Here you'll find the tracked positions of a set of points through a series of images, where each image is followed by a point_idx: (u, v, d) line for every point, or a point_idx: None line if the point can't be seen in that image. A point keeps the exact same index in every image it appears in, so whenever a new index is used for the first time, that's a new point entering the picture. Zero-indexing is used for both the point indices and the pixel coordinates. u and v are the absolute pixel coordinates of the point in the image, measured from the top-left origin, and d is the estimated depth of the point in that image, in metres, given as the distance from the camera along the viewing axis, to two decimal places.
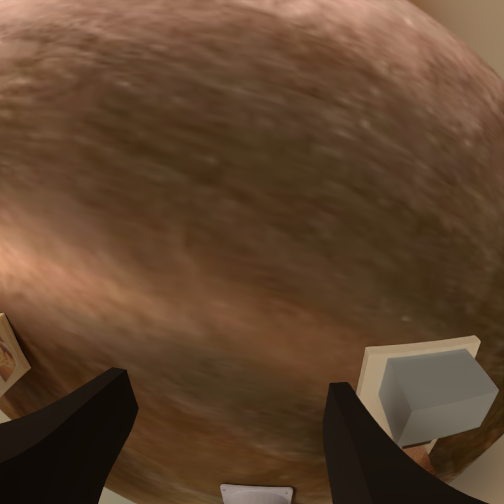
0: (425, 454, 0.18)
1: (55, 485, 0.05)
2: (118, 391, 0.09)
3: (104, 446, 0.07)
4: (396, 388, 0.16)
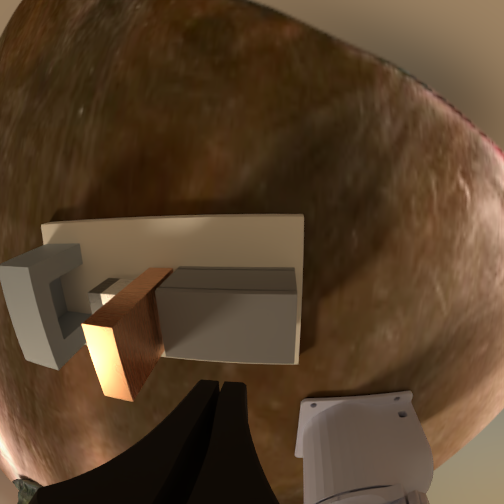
0: None
1: None
2: (214, 405, 0.09)
3: None
4: None
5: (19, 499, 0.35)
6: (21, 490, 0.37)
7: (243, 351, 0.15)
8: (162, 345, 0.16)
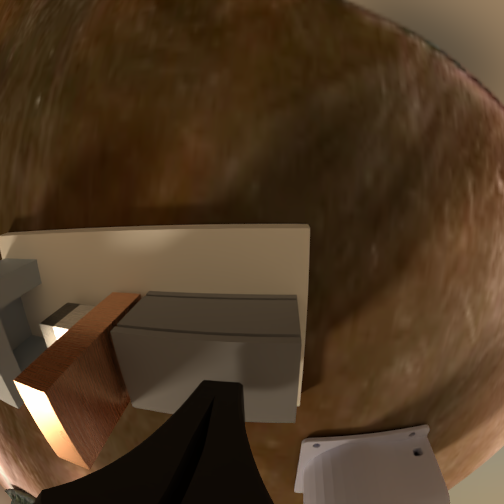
0: None
1: None
2: None
3: None
4: None
5: None
6: (14, 500, 0.33)
7: None
8: None
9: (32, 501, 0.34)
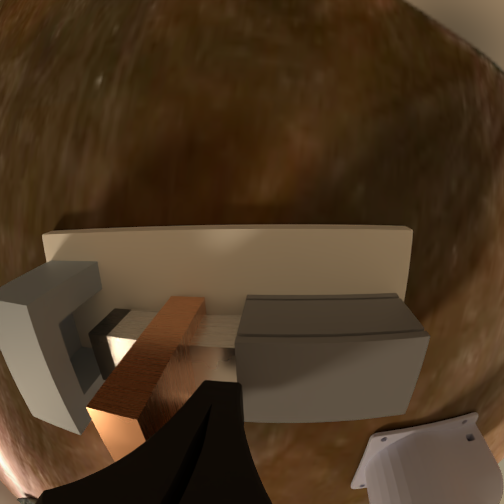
0: None
1: None
2: None
3: None
4: None
5: None
6: None
7: (350, 408, 0.10)
8: None
9: None
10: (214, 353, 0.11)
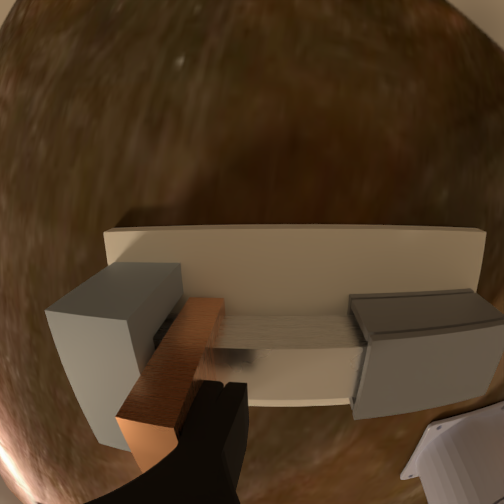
0: None
1: None
2: (244, 408, 0.08)
3: (234, 471, 0.07)
4: None
5: None
6: None
7: (448, 393, 0.10)
8: None
9: None
10: (238, 355, 0.11)
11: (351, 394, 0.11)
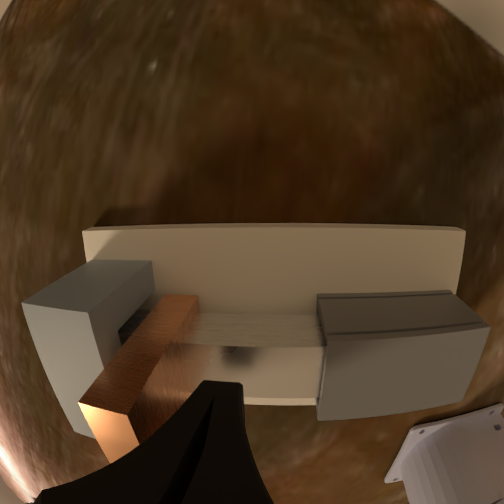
0: None
1: None
2: None
3: None
4: None
5: None
6: None
7: (419, 398, 0.10)
8: None
9: None
10: (206, 351, 0.11)
11: None
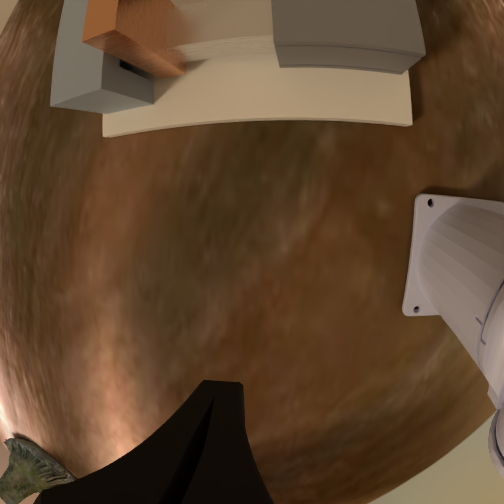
0: None
1: None
2: None
3: None
4: (89, 108, 0.14)
5: (10, 463, 0.33)
6: (13, 452, 0.35)
7: (371, 32, 0.10)
8: (163, 51, 0.12)
9: (36, 452, 0.36)
10: (185, 9, 0.11)
11: None
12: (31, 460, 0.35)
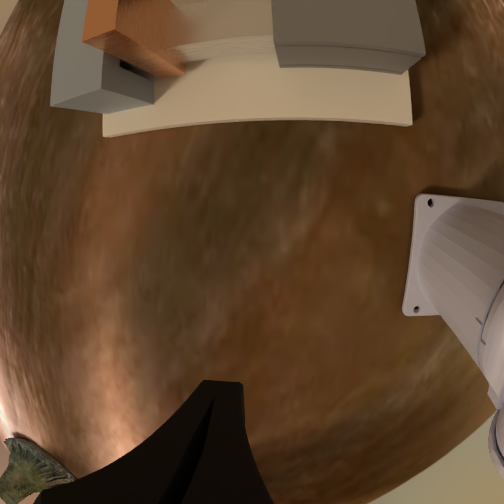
0: None
1: None
2: None
3: None
4: (89, 108, 0.14)
5: (9, 463, 0.33)
6: (13, 452, 0.35)
7: (371, 32, 0.10)
8: (163, 51, 0.12)
9: (36, 452, 0.35)
10: (185, 9, 0.11)
11: None
12: (31, 460, 0.35)
